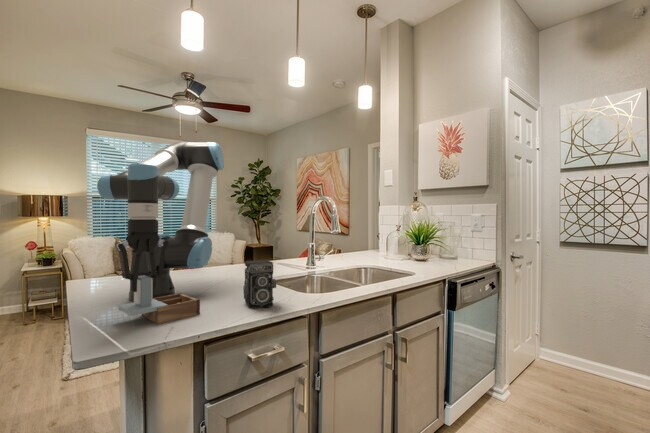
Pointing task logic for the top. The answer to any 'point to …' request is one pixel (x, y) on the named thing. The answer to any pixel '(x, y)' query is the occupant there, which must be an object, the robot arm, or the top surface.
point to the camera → (259, 283)
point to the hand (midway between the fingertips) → (143, 301)
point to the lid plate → (140, 310)
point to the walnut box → (174, 308)
